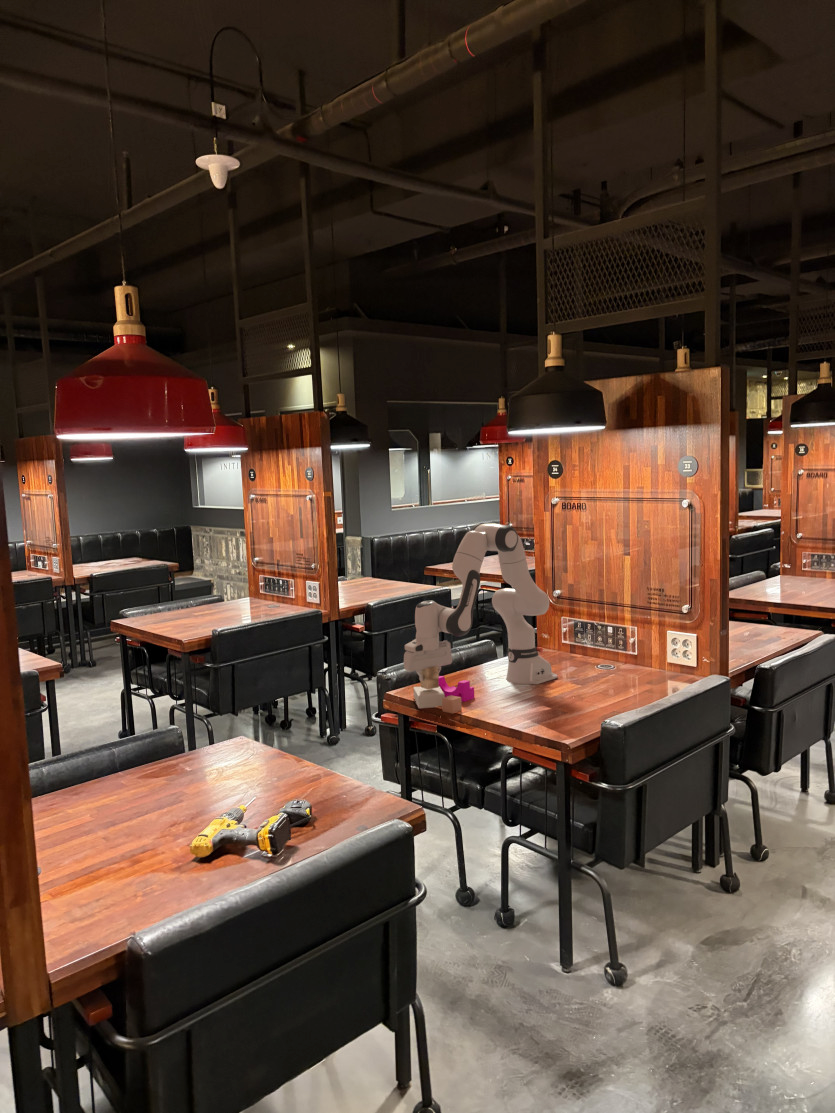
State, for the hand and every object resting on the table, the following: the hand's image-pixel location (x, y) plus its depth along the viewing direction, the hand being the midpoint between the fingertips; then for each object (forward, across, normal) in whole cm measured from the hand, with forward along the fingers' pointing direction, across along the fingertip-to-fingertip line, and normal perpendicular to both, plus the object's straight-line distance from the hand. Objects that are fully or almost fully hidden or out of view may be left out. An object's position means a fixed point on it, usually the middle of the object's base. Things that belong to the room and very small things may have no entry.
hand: (429, 679), depth 306 cm
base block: (+9, 0, 0) cm, 9 cm away
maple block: (+3, 0, 0) cm, 3 cm away
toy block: (+10, -11, 0) cm, 15 cm away
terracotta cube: (+9, 0, +15) cm, 18 cm away
